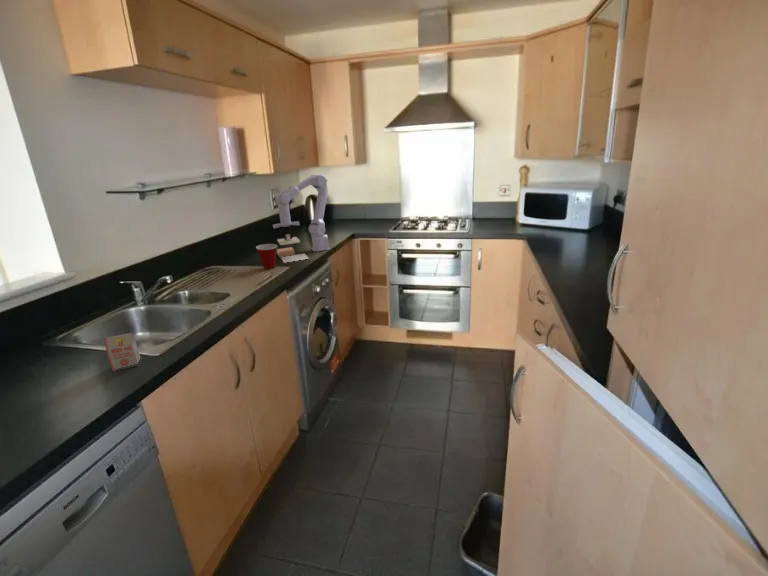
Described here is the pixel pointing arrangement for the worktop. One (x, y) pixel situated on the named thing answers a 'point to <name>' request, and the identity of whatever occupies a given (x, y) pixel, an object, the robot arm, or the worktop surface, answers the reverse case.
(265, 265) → the plastic cup
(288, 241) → the lid
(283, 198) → the robot arm
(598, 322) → the worktop surface
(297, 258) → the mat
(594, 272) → the worktop surface
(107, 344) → the beige cardboard box
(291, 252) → the block
